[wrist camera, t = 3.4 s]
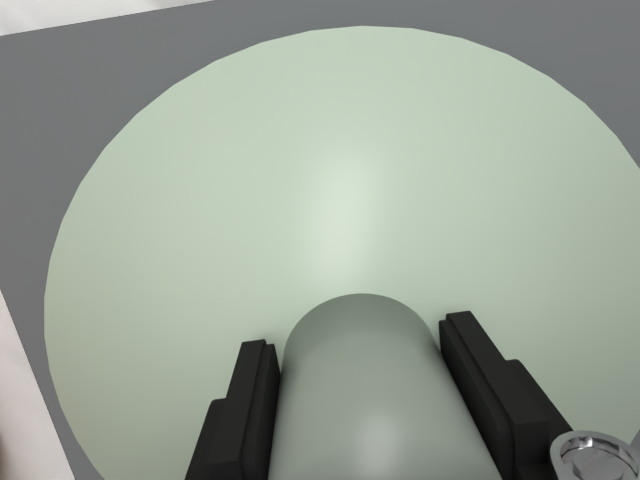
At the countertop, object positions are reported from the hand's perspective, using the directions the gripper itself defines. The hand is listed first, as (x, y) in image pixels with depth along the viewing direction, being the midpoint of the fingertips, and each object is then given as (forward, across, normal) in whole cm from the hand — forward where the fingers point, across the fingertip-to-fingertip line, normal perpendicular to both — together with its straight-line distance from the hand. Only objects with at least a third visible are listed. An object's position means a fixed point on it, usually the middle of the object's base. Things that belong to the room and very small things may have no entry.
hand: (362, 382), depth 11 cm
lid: (+2, 0, 0) cm, 2 cm away
